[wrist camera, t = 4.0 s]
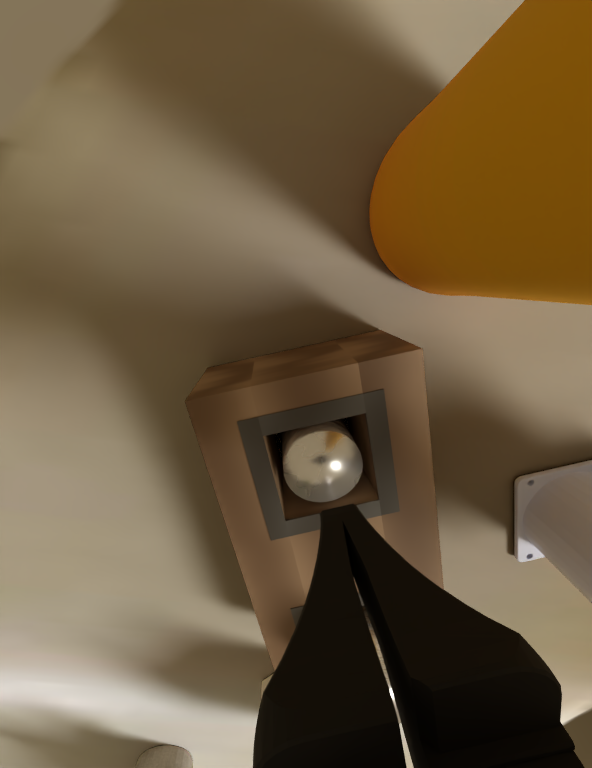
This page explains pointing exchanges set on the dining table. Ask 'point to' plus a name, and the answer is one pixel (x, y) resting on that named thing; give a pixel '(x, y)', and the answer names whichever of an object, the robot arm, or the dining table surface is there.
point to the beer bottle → (499, 169)
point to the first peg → (321, 461)
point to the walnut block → (265, 469)
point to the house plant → (165, 758)
